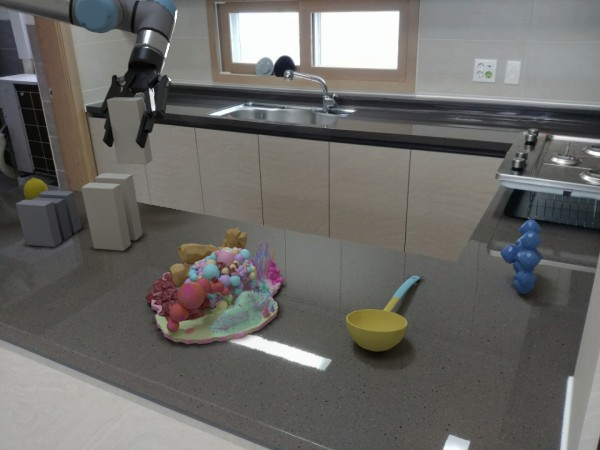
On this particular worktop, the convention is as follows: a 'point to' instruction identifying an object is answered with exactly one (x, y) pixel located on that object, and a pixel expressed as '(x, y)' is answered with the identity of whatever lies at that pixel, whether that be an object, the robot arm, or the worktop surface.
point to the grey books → (49, 218)
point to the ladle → (379, 323)
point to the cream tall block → (128, 130)
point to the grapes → (524, 256)
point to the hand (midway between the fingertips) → (123, 144)
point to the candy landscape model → (216, 292)
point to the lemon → (34, 188)
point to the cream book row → (112, 211)
